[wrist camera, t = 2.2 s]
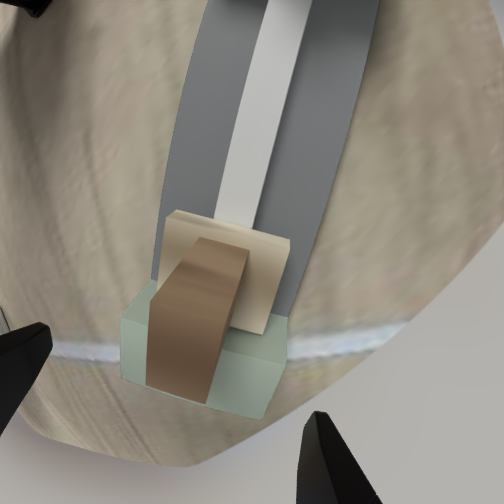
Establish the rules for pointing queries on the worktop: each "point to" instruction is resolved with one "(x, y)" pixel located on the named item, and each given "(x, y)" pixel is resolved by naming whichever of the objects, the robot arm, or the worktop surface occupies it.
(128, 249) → the worktop surface
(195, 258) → the carriage
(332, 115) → the rail bench
